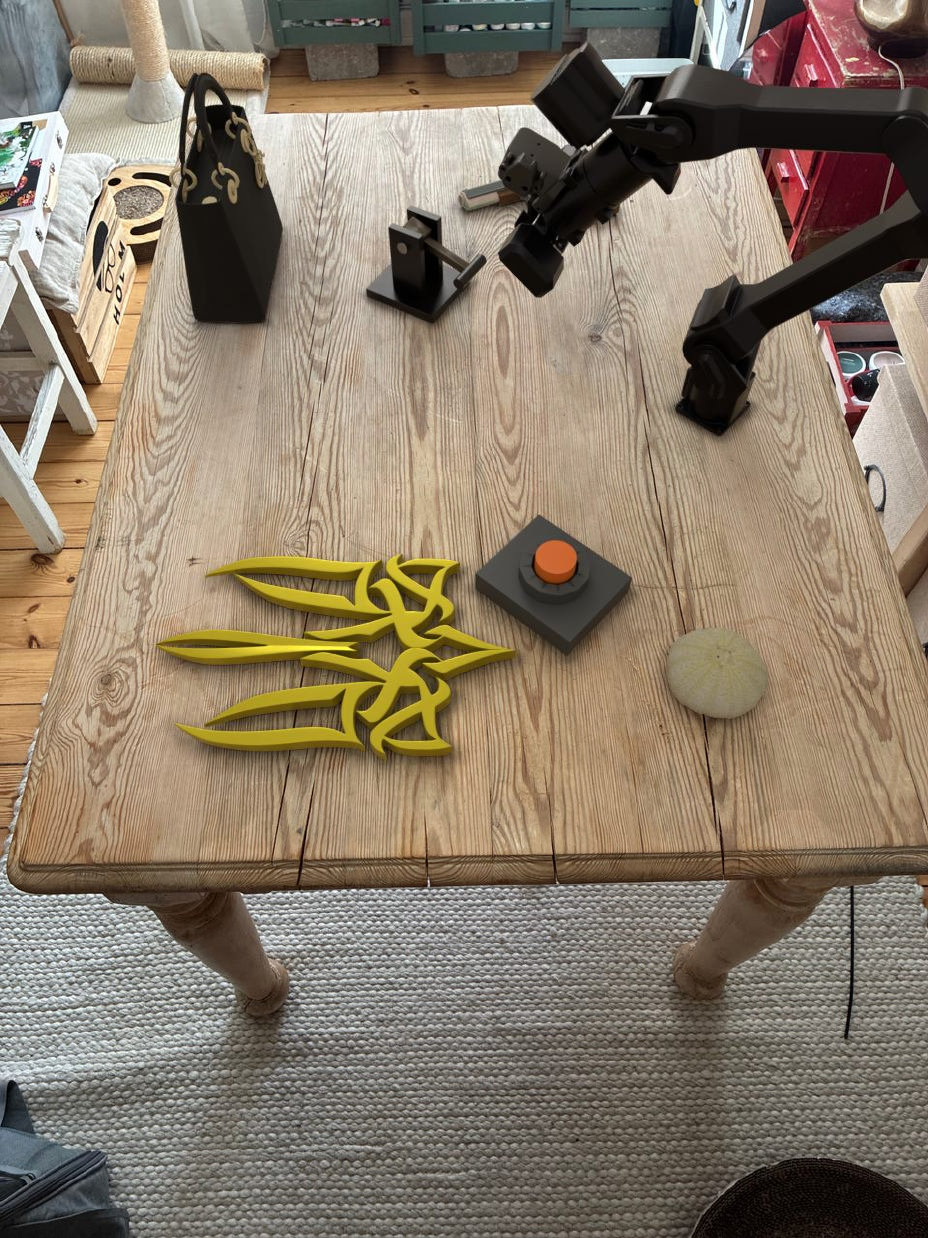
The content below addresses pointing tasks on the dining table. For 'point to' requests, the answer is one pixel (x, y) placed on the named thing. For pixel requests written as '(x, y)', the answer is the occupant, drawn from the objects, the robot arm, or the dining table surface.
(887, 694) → the dining table surface
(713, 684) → the sea urchin shell
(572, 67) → the robot arm
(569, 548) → the button
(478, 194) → the handgun
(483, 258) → the lever
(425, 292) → the bracket
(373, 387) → the dining table surface
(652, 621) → the dining table surface
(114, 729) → the dining table surface
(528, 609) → the button box
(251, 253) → the handbag
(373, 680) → the trident
